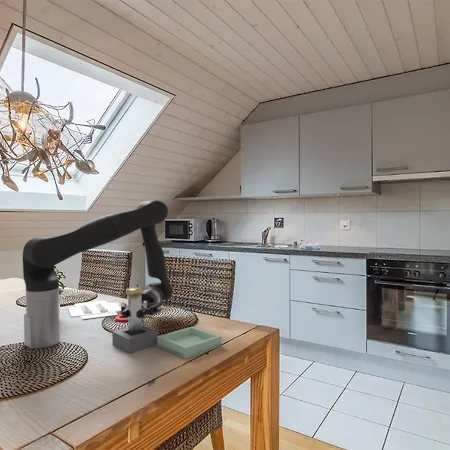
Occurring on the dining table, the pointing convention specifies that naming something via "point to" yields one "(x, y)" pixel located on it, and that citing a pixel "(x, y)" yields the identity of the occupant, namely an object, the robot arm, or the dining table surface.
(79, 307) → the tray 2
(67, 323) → the dining table surface
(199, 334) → the tray
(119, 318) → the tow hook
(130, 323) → the steel pin
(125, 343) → the socket block
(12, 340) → the dining table surface
